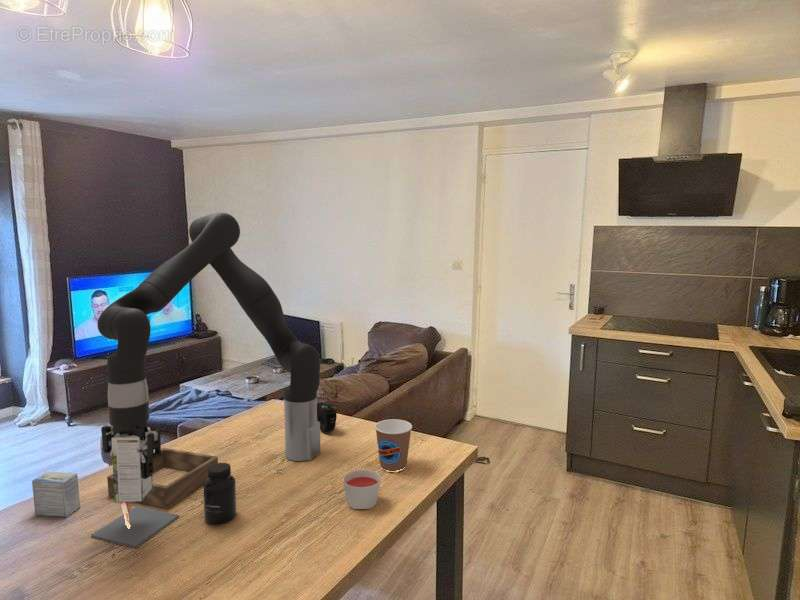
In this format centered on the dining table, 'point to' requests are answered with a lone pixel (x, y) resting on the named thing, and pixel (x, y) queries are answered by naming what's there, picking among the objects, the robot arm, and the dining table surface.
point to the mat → (135, 527)
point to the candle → (362, 488)
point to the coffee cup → (393, 443)
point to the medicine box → (56, 494)
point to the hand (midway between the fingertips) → (133, 474)
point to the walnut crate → (182, 485)
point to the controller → (326, 417)
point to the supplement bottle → (219, 494)
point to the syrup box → (129, 469)
